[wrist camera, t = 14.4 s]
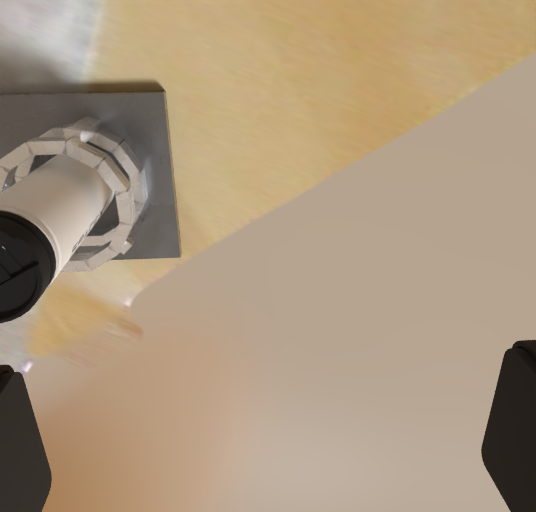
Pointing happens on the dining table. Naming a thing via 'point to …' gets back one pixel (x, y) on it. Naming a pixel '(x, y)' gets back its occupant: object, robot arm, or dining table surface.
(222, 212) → the dining table surface
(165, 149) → the collar stand
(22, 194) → the travel mug
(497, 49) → the dining table surface
